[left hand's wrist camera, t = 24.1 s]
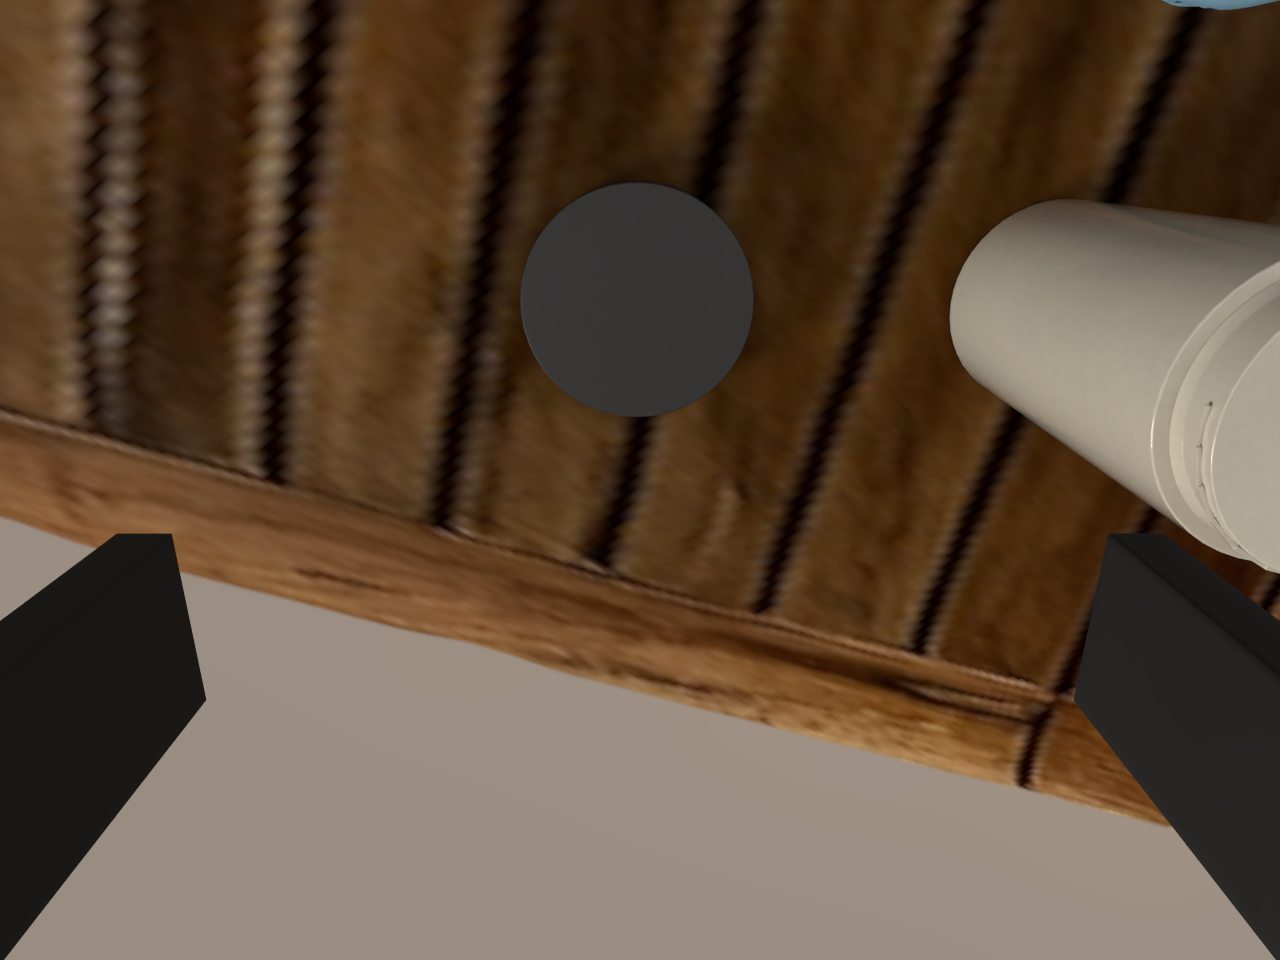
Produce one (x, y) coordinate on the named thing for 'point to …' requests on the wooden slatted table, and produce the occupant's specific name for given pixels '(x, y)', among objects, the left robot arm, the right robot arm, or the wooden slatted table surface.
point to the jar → (1141, 354)
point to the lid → (637, 298)
